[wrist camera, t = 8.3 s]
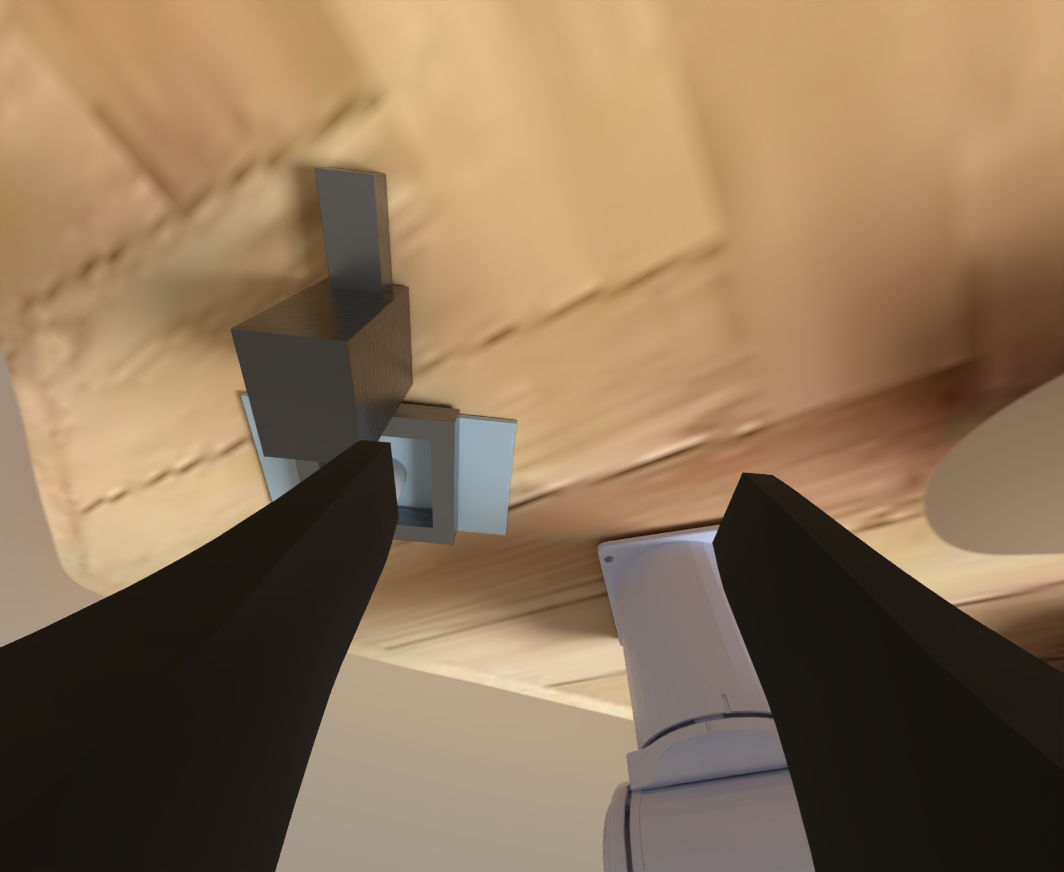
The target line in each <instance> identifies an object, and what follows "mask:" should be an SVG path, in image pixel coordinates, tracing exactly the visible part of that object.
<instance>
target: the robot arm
mask: <svg viewBox="0 0 1064 872" xmlns="http://www.w3.org/2000/svg"><path fill="white" fill-rule="evenodd" d="M398 519H399V513H398V504H397V495H396V486H395V477H394V468H393V459H392V451H391V442H380V441H368V440H360V441H358V442H356V443H355V444H353V445H352V446H351V447H349V448H348V449H346V450H345V451H343V452H342V453H341V454H339V455H338V456H336V457H335V458H334V459H332V460H331V461H330V462H328V463H327V464H325V465H324V466H323V467H321V468H320V469H319V470H317V471H316V472H314V473H313V474H312V475H310V476H309V477H307V478H306V479H305V480H303V481H302V482H300V483H299V484H297V485H296V486H295V487H293V488H292V489H290V490H289V491H287V492H286V493H285V494H283V495H282V496H280V497H279V498H277V499H276V500H275V501H273V502H271V503H270V504H268V505H267V506H265V507H264V508H262V509H261V510H259V511H258V512H256V513H254V514H253V515H251V516H250V517H248V518H247V519H245V520H244V521H242V522H240V523H239V524H237V525H236V526H234V527H233V528H231V529H230V530H228V531H226V532H225V533H223V534H222V535H220V536H219V537H217V538H215V539H214V540H212V541H210V542H209V543H207V544H205V545H204V546H202V547H200V548H198V549H197V550H195V551H193V552H191V553H190V554H188V555H186V556H185V557H183V558H181V559H179V560H177V561H175V562H174V563H172V564H170V565H168V566H166V567H164V568H163V569H161V570H159V571H157V572H155V573H153V574H152V575H150V576H148V577H146V578H144V579H142V580H140V581H139V582H137V583H135V584H133V585H131V586H129V587H127V588H125V589H123V590H121V591H119V592H117V593H115V594H113V595H110V596H108V597H106V598H104V599H102V600H100V601H98V602H96V603H94V604H92V605H90V606H88V607H86V608H84V609H82V610H80V611H78V612H76V613H73V614H71V615H69V616H68V617H66V618H63V619H61V620H59V621H57V622H55V623H53V624H51V625H49V626H47V627H45V628H43V629H40V630H38V631H36V632H34V633H32V634H30V635H27V636H25V637H23V638H21V639H18V640H16V641H14V642H12V643H9V644H7V645H5V646H3V647H0V872H275V870H276V867H277V863H278V860H279V857H280V853H281V850H282V846H283V843H284V839H285V836H286V832H287V829H288V825H289V822H290V819H291V815H292V812H293V809H294V805H295V802H296V799H297V796H298V793H299V789H300V786H301V783H302V779H303V776H304V773H305V770H306V767H307V764H308V760H309V757H310V754H311V751H312V748H313V744H314V742H315V738H316V735H317V732H318V729H319V726H320V723H321V720H322V717H323V714H324V711H325V708H326V705H327V702H328V699H329V696H330V693H331V690H332V688H333V685H334V682H335V680H336V677H337V675H338V672H339V670H340V667H341V665H342V662H343V660H344V658H345V655H346V653H347V651H348V649H349V646H350V644H351V642H352V639H353V637H354V635H355V633H356V630H357V628H358V626H359V623H360V621H361V619H362V616H363V614H364V612H365V610H366V607H367V605H368V603H369V600H370V598H371V596H372V593H373V591H374V589H375V586H376V584H377V582H378V579H379V577H380V575H381V572H382V570H383V568H384V565H385V563H386V560H387V557H388V554H389V550H390V547H391V544H392V540H393V537H394V533H395V530H396V526H397V522H398ZM598 556H599V560H600V564H601V568H602V572H603V576H604V580H605V584H606V588H607V592H608V597H609V601H610V605H611V609H612V613H613V617H614V621H615V625H616V629H617V633H618V637H619V642H620V644H621V646H623V651H624V658H625V664H626V671H627V678H628V684H629V691H630V698H631V704H632V711H633V718H634V724H635V731H636V738H637V744H638V751H634V752H630V753H627V755H626V756H627V764H628V772H629V780H630V781H627V782H623V783H620V784H619V785H618V786H617V787H616V789H615V791H614V794H613V796H612V800H611V803H610V805H609V807H608V810H607V813H606V817H605V823H604V831H603V832H604V833H603V866H604V872H1064V673H1062V672H1060V671H1059V670H1057V669H1055V668H1053V667H1052V666H1050V665H1048V664H1047V663H1045V662H1043V661H1041V660H1040V659H1038V658H1036V657H1035V656H1033V655H1031V654H1030V653H1028V652H1026V651H1025V650H1023V649H1022V648H1020V647H1018V646H1017V645H1015V644H1014V643H1012V642H1010V641H1009V640H1007V639H1005V638H1004V637H1002V636H1001V635H999V634H997V633H996V632H994V631H993V630H991V629H989V628H988V627H986V626H985V625H983V624H981V623H980V622H978V621H977V620H975V619H973V618H972V617H970V616H969V615H967V614H966V613H964V612H963V611H961V610H960V609H958V608H957V607H955V606H953V605H952V604H950V603H949V602H947V601H946V600H944V599H943V598H942V597H940V596H939V595H937V594H936V593H934V592H933V591H931V590H930V589H929V588H927V587H926V586H924V585H923V584H921V583H920V582H918V581H917V580H916V579H914V578H913V577H911V576H910V575H908V574H907V573H905V572H904V571H903V570H901V569H900V568H898V567H897V566H896V565H894V564H893V563H892V562H890V561H889V560H887V559H886V558H885V557H883V556H882V555H881V554H879V553H878V552H876V551H875V550H874V549H872V548H871V547H870V546H868V545H867V544H866V543H864V542H863V541H862V540H860V539H859V538H858V537H856V536H855V535H854V534H852V533H851V532H850V531H848V530H847V529H846V528H844V527H843V526H842V525H840V524H839V523H838V522H836V521H835V520H834V519H833V518H831V517H830V516H829V515H827V514H826V513H825V512H823V511H822V510H821V509H819V508H818V507H817V506H815V505H814V504H813V503H811V502H810V501H809V500H807V499H806V498H805V497H803V496H802V495H801V494H799V493H798V492H797V491H795V490H794V489H792V488H791V487H790V486H788V485H787V484H785V483H784V482H782V481H781V480H779V479H778V478H776V477H775V476H773V475H766V474H755V473H742V475H741V478H740V480H739V482H738V485H737V487H736V489H735V492H734V494H733V496H732V498H731V501H730V503H729V505H728V508H727V510H726V512H725V514H724V517H723V519H722V521H721V524H720V525H713V526H707V527H700V528H693V529H687V530H680V531H673V532H667V533H660V534H653V535H647V536H640V537H634V538H627V539H620V540H614V541H607V542H603V543H601V544H599V546H598ZM607 556H610V557H607Z"/></svg>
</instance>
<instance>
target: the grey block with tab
mask: <svg viewBox="0 0 1064 872" xmlns="http://www.w3.org/2000/svg"><path fill="white" fill-rule="evenodd" d="M315 172H316V180H317V187H318V195H319V202H320V210H321V217H322V225H323V232H324V240H325V247H326V255H327V262H328V270H329V277H330V278H327V279H325V280H323V281H321V282H319V283H317V284H315V285H313V286H311V287H309V288H308V289H306V290H304V291H302V292H300V293H298V294H296V295H294V296H292V297H290V298H289V299H287V300H285V301H283V302H281V303H279V304H277V305H275V306H273V307H271V308H269V309H268V310H266V311H264V312H262V313H260V314H258V315H256V316H254V317H252V318H250V319H249V320H247V321H245V322H243V323H241V324H239V325H237V326H235V327H233V328H231V332H232V336H233V340H234V344H235V348H236V352H237V355H238V359H239V363H240V367H241V371H242V375H243V378H244V382H245V386H246V390H247V394H248V397H249V401H250V405H251V409H252V413H253V417H254V420H255V424H256V428H257V432H258V436H259V440H260V443H261V447H262V451H263V455H264V457H274V458H284V459H294V460H295V462H296V467H297V472H298V476H299V481H300V482H302V481H303V480H305V479H306V478H307V477H309V476H310V475H312V474H313V473H314V472H316V471H317V470H319V469H320V468H321V467H323V466H324V465H325V464H327V463H328V462H330V461H331V460H332V459H334V458H335V457H336V456H338V455H339V454H341V453H342V452H343V451H345V450H346V449H348V448H349V447H351V446H352V445H353V444H355V443H356V442H358V441H360V440H368V441H378V440H379V439H380V437H381V436H387V437H397V438H407V439H417V440H427V441H431V460H432V507H433V511H428V510H418V509H407V508H398V513H399V519H398V522H397V526H396V530H395V533H394V537H393V539H396V540H407V541H417V542H428V543H439V544H450V545H454V541H455V536H456V532H457V528H458V477H459V422H460V409H453V408H443V407H433V406H424V405H414V404H404V403H401V402H402V401H403V399H404V397H405V396H406V394H407V392H408V391H409V389H410V387H411V386H412V384H413V378H412V355H411V332H410V309H409V287H407V286H398V285H392V269H391V253H390V237H389V221H388V204H387V188H386V174H382V173H374V172H365V171H357V170H348V169H340V168H331V167H330V168H315Z"/></svg>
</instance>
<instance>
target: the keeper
mask: <svg viewBox="0 0 1064 872" xmlns="http://www.w3.org/2000/svg"><path fill="white" fill-rule="evenodd" d="M241 397H242V401H243V404H244V408H245V411H246V414H247V418H248V421H249V425H250V428H251V431H252V435H253V438H254V441H255V445H256V448H257V452H258V455H259V458H260V462H261V465H262V469H263V472H264V475H265V479H266V482H267V486H268V489H269V492H270V496H271V499H272V502H273V501H275V500H276V499H277V498H279V497H280V496H282V495H283V494H285V493H286V492H287V491H289V490H290V489H292V488H293V487H295V486H296V485H297V484H299V483H300V481H299V476H298V472H297V467H296V462H295V460H294V459H284V458H274V457H264V455H263V451H262V447H261V443H260V440H259V436H258V432H257V428H256V424H255V420H254V417H253V413H252V409H251V405H250V401H249V397H248V394H247V392H244V393H243V394H242V395H241ZM516 424H517V420H509V419H500V418H490V417H480V416H470V415H461V414H460V422H459V477H458V528H457V531H465V532H475V533H486V534H497V535H505V534H506V524H507V514H508V504H509V494H510V484H511V474H512V464H513V454H514V444H515V434H516ZM378 441H380V442H391V451H392V459H393V468H394V477H395V486H396V495H397V504H398V508H407V509H418V510H428V511H433V507H432V460H431V441H427V440H417V439H407V438H397V437H387V436H381V437H380V439H379V440H378Z"/></svg>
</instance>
